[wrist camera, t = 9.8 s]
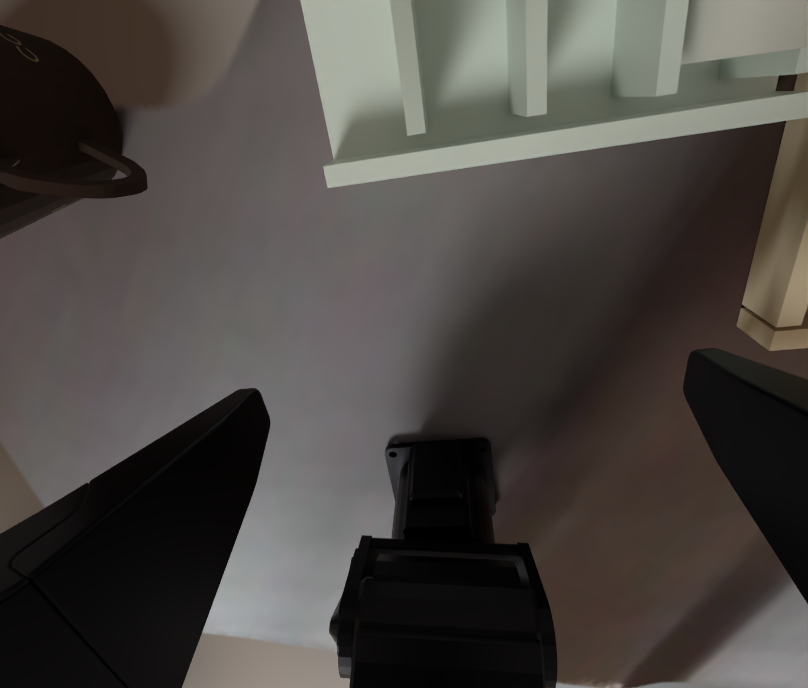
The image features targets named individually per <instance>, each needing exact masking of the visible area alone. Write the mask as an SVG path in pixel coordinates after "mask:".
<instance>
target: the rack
mask: <svg viewBox="0 0 808 688" xmlns="http://www.w3.org/2000/svg"><path fill="white" fill-rule="evenodd" d="M301 5H302V10H303V14H304V19H305V24H306V29H307V34H308V38H309V43H310V48H311V53H312V57H313V62H314V67H315V72H316V77H317V81H318V86H319V91H320V96H321V101H322V105H323V110H324V115H325V120H326V124H327V129H328V134H329V139H330V144H331V148H332V153H333V158H334V160H333V161H331V162H330V163H328V164H326V165H325V166H323V168H324V173H325V177H326V182H327V186H328V188H332V187H339V186H345V185H352V184H359V183H366V182H373V181H379V180H386V179H393V178H400V177H407V176H413V175H420V174H427V173H434V172H441V171H447V170H454V169H461V168H468V167H475V166H481V165H488V164H495V163H502V162H509V161H515V160H522V159H529V158H536V157H543V156H549V155H556V154H563V153H570V152H577V151H583V150H590V149H597V148H604V147H611V146H617V145H624V144H631V143H638V142H645V141H651V140H658V139H665V138H672V137H679V136H686V135H692V134H699V133H706V132H713V131H720V130H726V129H733V128H740V127H747V126H754V125H760V124H767V123H774V122H781V121H788V120H794V119H801V118H808V91H776V86H777V82H778V77H779V75H793V74H800V73H806V72H808V47H805V48H798V49H791V50H784V51H776V52H769V53H762V54H754V55H747V56H740V57H733V58H725V59H718V60H711V61H704V62H696V63H689V64H682V65H681V58H682V50H683V43H684V35H685V28H686V20H687V12H688V5H689V0H301Z"/></svg>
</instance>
